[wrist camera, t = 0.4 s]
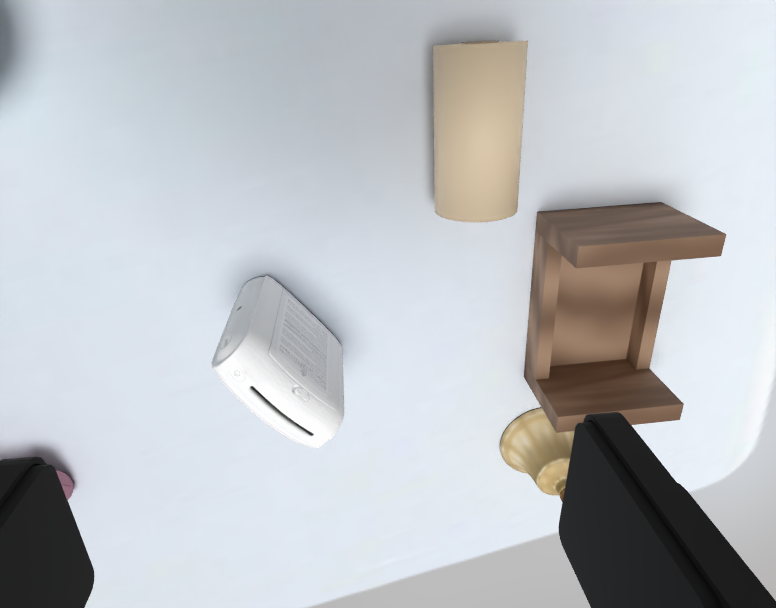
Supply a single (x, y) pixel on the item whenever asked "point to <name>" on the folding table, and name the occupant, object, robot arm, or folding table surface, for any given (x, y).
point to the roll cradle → (605, 308)
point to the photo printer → (282, 363)
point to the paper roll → (478, 128)
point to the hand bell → (538, 451)
